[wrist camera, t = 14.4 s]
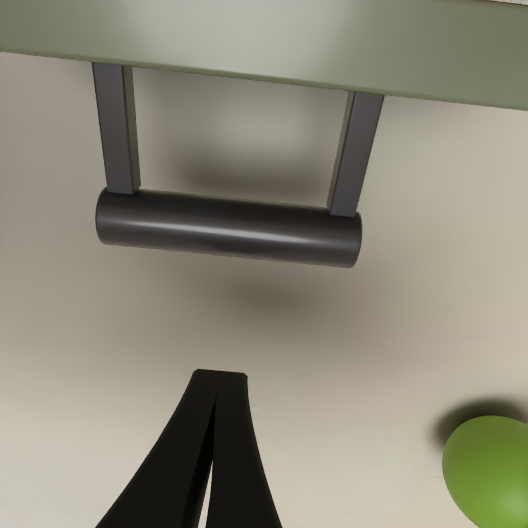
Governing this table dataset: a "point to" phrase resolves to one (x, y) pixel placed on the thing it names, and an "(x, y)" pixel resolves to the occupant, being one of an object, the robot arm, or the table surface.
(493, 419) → the snail figurine
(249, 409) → the robot arm
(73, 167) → the table surface
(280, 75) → the drawer
